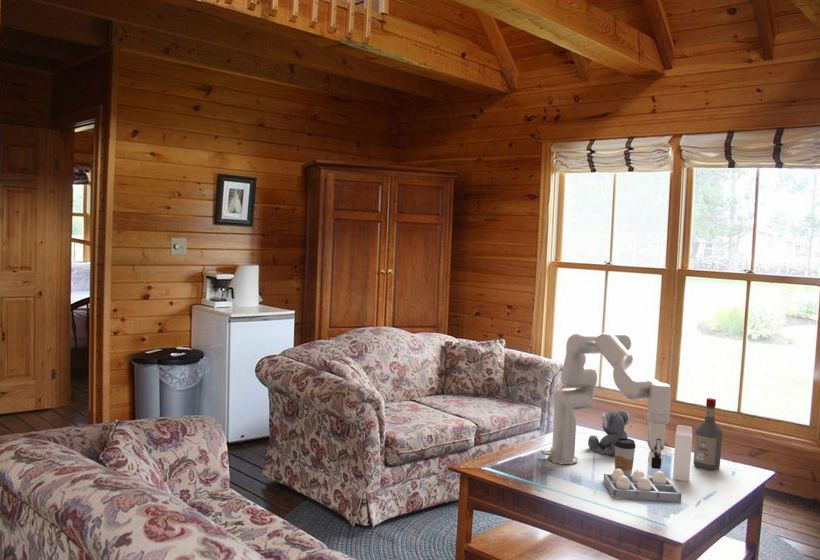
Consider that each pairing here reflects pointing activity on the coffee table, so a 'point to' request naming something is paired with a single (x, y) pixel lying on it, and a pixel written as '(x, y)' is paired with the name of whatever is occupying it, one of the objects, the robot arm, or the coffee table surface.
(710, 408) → the liquor
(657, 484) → the carton
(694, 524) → the coffee table surface
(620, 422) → the koala plush
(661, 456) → the egg
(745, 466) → the coffee table surface
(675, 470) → the milk
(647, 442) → the robot arm
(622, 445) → the coffee cup
